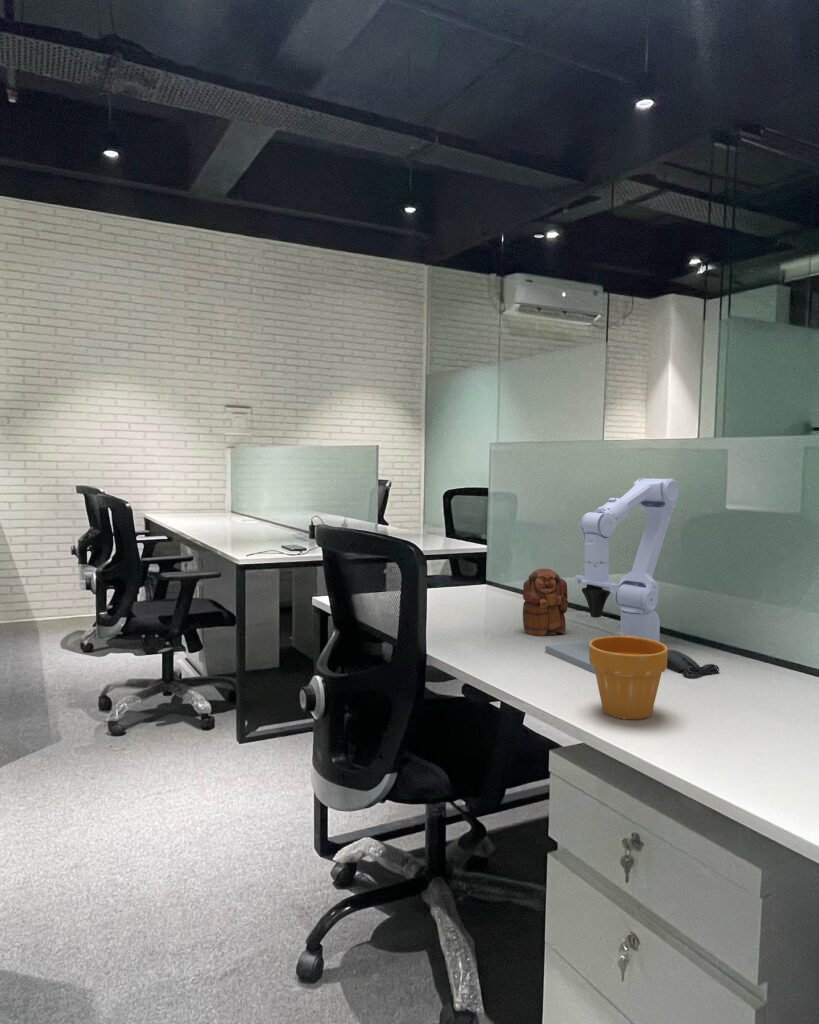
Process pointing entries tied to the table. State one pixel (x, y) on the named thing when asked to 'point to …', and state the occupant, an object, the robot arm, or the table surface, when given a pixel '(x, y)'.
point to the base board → (572, 653)
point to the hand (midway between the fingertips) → (596, 616)
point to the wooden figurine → (544, 603)
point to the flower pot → (627, 674)
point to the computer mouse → (688, 665)
